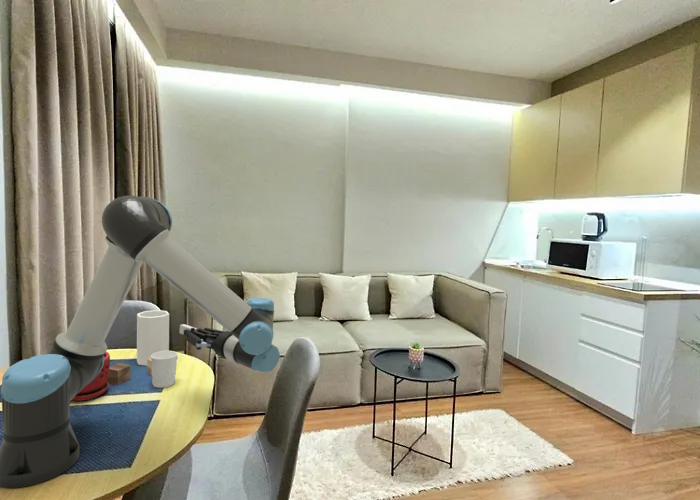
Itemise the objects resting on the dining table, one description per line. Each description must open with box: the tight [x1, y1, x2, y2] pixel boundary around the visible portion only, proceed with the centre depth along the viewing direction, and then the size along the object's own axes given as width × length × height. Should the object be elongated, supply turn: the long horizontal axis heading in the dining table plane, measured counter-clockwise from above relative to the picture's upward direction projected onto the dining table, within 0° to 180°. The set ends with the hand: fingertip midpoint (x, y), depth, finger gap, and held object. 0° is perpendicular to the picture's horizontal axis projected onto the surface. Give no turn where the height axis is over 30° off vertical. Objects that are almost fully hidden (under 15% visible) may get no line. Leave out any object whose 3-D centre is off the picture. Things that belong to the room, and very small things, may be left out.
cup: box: [136, 309, 170, 367], centre depth 149 cm, size 11×11×18 cm
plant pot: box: [71, 351, 111, 402], centre depth 120 cm, size 13×13×12 cm
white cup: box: [151, 350, 178, 389], centre depth 131 cm, size 8×8×10 cm
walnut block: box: [106, 362, 132, 386], centre depth 131 cm, size 5×5×5 cm
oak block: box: [146, 358, 152, 376], centre depth 139 cm, size 5×5×5 cm
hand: (181, 328), depth 125 cm, fingers closed
